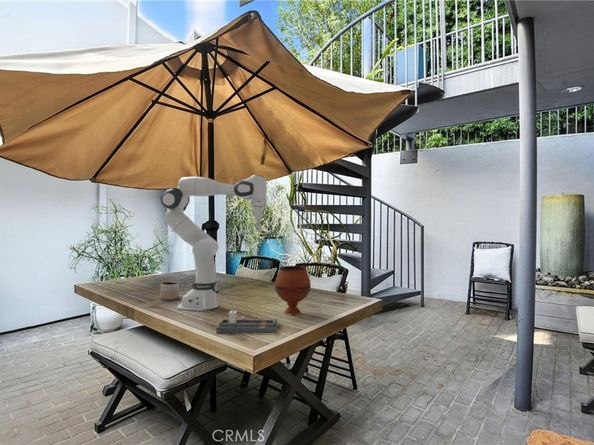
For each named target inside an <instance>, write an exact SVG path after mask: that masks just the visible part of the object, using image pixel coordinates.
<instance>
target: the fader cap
mask: <svg viewBox="0 0 594 445" xmlns="http://www.w3.org/2000/svg"><path fill="white" fill-rule="evenodd" d="M228 319H229V323H236V322H237V319H238V310H230V311H229V312H228Z"/></svg>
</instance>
